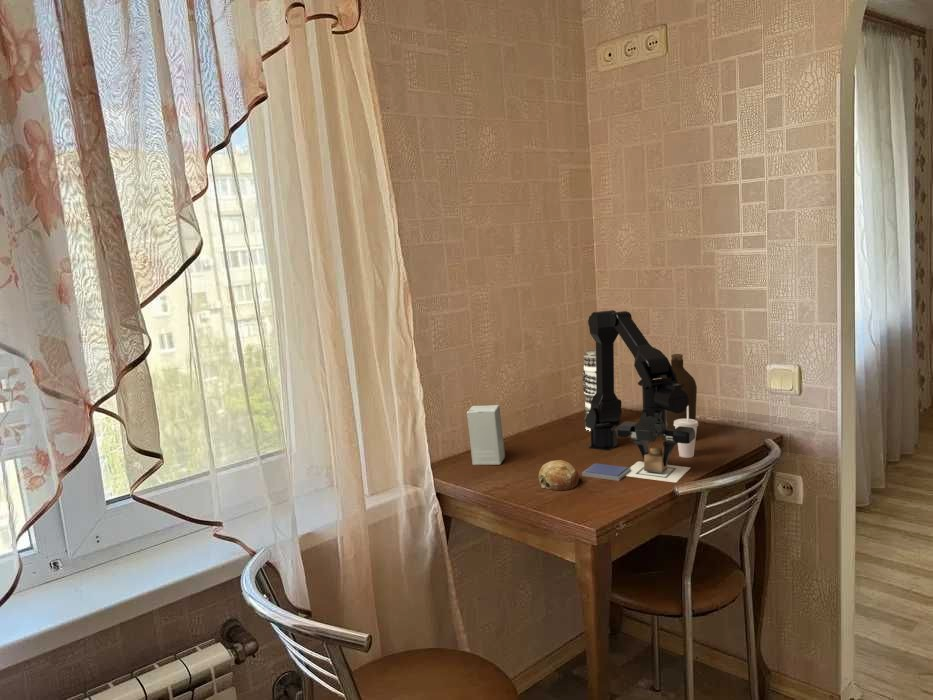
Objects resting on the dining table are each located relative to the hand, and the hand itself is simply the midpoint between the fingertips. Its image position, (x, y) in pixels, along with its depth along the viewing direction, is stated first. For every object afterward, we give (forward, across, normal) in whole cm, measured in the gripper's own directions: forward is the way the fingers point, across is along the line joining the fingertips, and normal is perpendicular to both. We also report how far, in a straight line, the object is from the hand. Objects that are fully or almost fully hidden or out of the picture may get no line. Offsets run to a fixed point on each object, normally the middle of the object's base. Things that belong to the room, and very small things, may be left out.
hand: (655, 464), depth 183 cm
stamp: (+1, 0, 0) cm, 1 cm away
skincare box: (+2, -45, -9) cm, 46 cm away
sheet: (+2, 0, 0) cm, 2 cm away
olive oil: (+2, -4, +32) cm, 32 cm away
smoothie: (+2, +3, +16) cm, 16 cm away
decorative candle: (+2, -30, +34) cm, 45 cm away
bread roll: (+2, -19, -17) cm, 26 cm away
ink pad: (+2, -11, -6) cm, 13 cm away
